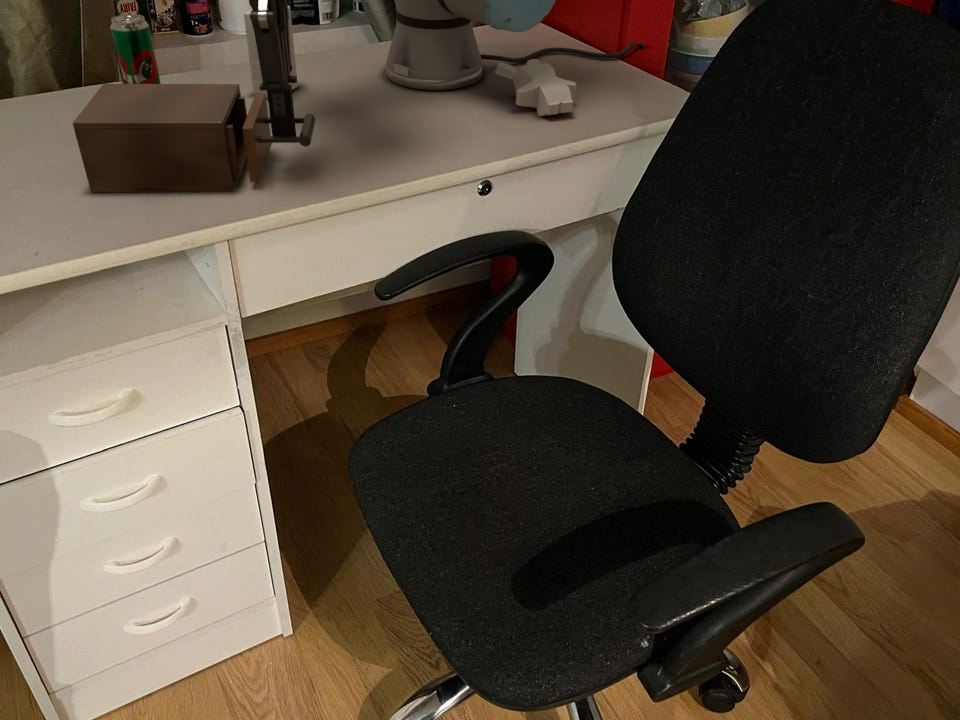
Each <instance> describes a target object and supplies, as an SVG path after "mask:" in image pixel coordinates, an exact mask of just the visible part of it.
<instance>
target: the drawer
mask: <svg viewBox="0 0 960 720" xmlns="http://www.w3.org/2000/svg"><path fill="white" fill-rule="evenodd" d="M267 102H268V101H267V98H266V94H265V93H256V94H255V95H254V97H253V100H252V102H251V104H250V107H249V110H247V103H246V97H245V96H242V95H241V96H237V98H236V100H235V103H234V105H233V107H232V110H231V112H230V114H229V117H228V119H227V121H226V124H225V126H224V127H225V133H226V139H227V145H228V152H229V158H230V164H231V171H232V177H238V178H241V174H242V172H243V168H244V166H245V164H247V170H248V176H249V182H250V183H261V181H262V178H263V174H264V170H265V167H266V164H267V160H268V157H269V154H270V150H271V147H272V144H299V145H301V146H302V147H309V146H310V145H311V143H312V139H313V133H314V129H315V126H316V120H317V119H316V116H315V114H313V113H306V114H305V115H304V116H303V117H302V116H300V117H299V116H298V117H297V116H295V124H302V125H301V130H300V134H299V136H297V135H296V136H272V133H271V125H270V124H271V120H270V116H269V109H268V103H267ZM246 162H247V163H246Z"/></svg>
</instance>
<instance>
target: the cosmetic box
mask: <svg viewBox="0 0 960 720" xmlns="http://www.w3.org/2000/svg"><path fill="white" fill-rule="evenodd" d="M251 11H252V9H250V10H248V11H246V12H243V18H244V19H243V20H244V26H245V27H244V28H245V34H246V44H247V51H248V60H249V68H250V75H251V83H252V84H251V85H252V93H253V95H254V96H255V94H256V93H265V94H266V99H268V95H267V90H260V84H261V83H263V81H262V75H261V69H260V63H259V57H258V51H257V45H256V39H255V33H254V29H253V25H252V22H251V19H250V12H251ZM288 14H289V20H288V24H289V39H290V53H291V65H292V71H291V72H290V75H291V76H297V77H298V74H297V73H298V72H297V64H296V54H295V43H294V32H293V31H294V30H293V22H292V21H293V20H292V11H291V6H290V5H288ZM289 85H291V87H292V91H293V90H295V89H296V88H297V87H298V86H299V84H298V82H297V83H289Z"/></svg>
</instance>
